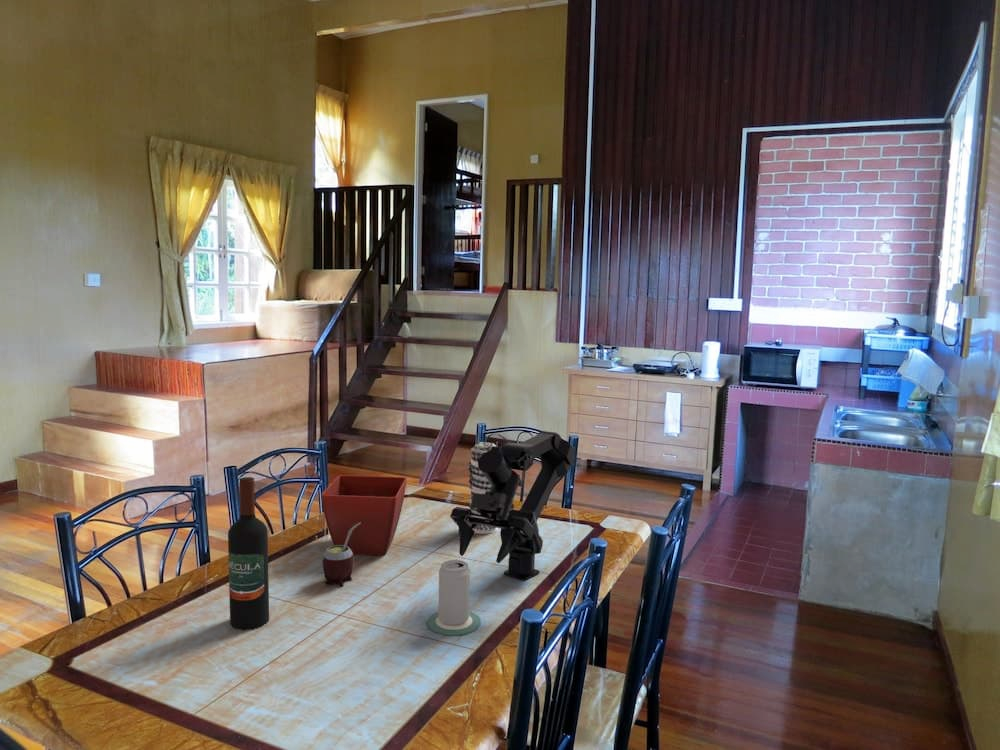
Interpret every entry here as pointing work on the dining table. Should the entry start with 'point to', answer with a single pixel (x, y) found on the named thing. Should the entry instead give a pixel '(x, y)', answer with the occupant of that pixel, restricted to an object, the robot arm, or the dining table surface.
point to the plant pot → (364, 511)
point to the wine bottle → (248, 564)
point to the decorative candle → (479, 482)
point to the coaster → (456, 630)
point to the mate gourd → (338, 562)
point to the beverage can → (454, 592)
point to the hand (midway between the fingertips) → (479, 558)
